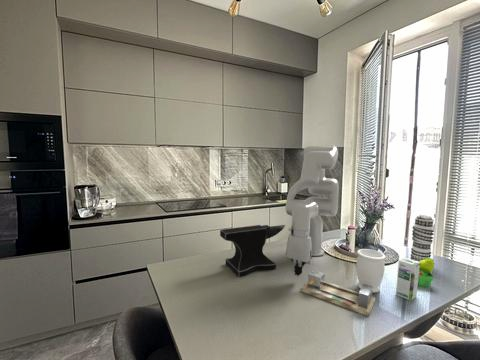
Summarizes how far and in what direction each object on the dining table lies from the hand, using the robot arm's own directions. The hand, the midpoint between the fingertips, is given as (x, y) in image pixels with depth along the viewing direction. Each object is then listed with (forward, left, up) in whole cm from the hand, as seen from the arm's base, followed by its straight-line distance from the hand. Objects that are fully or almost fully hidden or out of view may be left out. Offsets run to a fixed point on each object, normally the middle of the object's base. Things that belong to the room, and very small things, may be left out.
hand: (298, 274), depth 108 cm
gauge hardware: (+17, 0, -3) cm, 17 cm away
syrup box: (+38, +18, -4) cm, 42 cm away
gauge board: (+16, 0, -4) cm, 17 cm away
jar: (+25, +15, -4) cm, 30 cm away
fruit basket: (+42, +36, -4) cm, 56 cm away
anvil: (-23, +1, -4) cm, 23 cm away
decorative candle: (+41, +60, -4) cm, 73 cm away
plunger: (+8, -2, -2) cm, 8 cm away
